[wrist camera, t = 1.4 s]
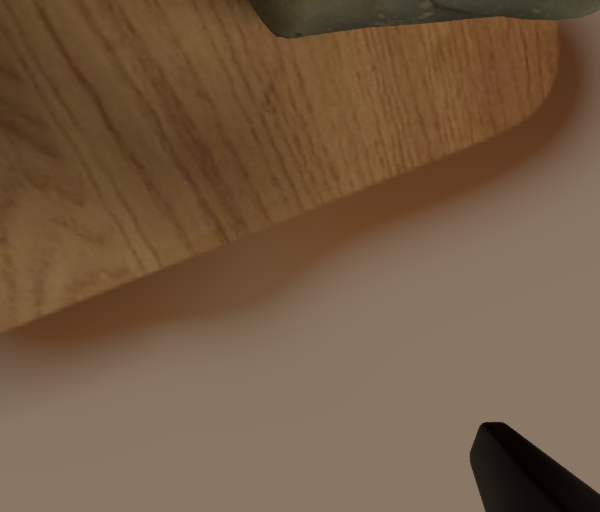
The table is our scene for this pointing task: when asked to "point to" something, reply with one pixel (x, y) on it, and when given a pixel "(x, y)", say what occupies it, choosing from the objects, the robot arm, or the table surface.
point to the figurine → (402, 12)
